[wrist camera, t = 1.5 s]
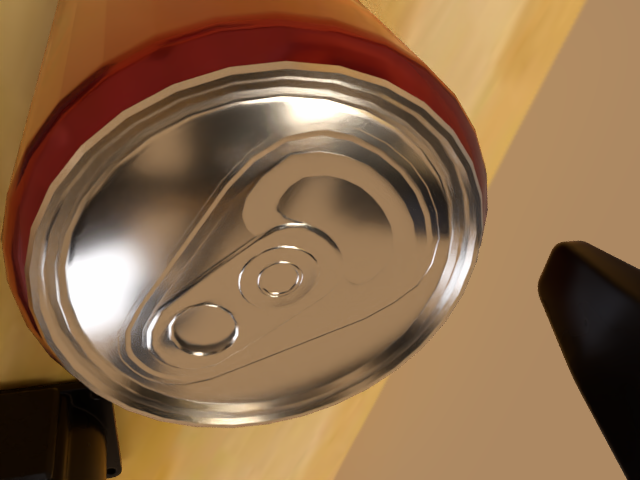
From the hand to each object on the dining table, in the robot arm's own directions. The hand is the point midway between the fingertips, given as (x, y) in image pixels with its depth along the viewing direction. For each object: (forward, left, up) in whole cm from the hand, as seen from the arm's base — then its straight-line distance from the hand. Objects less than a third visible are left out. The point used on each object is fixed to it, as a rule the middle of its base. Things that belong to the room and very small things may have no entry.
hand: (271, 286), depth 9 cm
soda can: (0, 0, -12) cm, 12 cm away
